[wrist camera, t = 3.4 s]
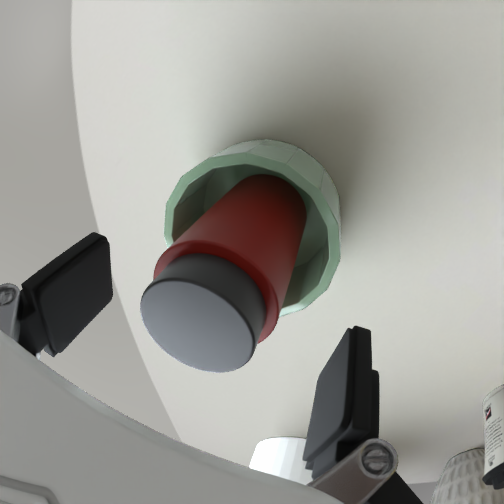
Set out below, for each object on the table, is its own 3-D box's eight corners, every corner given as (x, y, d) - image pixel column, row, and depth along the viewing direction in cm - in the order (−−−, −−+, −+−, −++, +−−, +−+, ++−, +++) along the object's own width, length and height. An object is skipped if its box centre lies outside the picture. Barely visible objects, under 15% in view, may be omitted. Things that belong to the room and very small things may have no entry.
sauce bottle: (220, 236, 19) (133, 348, 11) (234, 164, 17) (126, 244, 8) (293, 260, 19) (249, 396, 10) (317, 188, 16) (287, 302, 8)
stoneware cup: (192, 249, 21) (160, 285, 17) (211, 124, 16) (173, 134, 13) (313, 290, 20) (305, 337, 16) (360, 166, 15) (368, 190, 12)
